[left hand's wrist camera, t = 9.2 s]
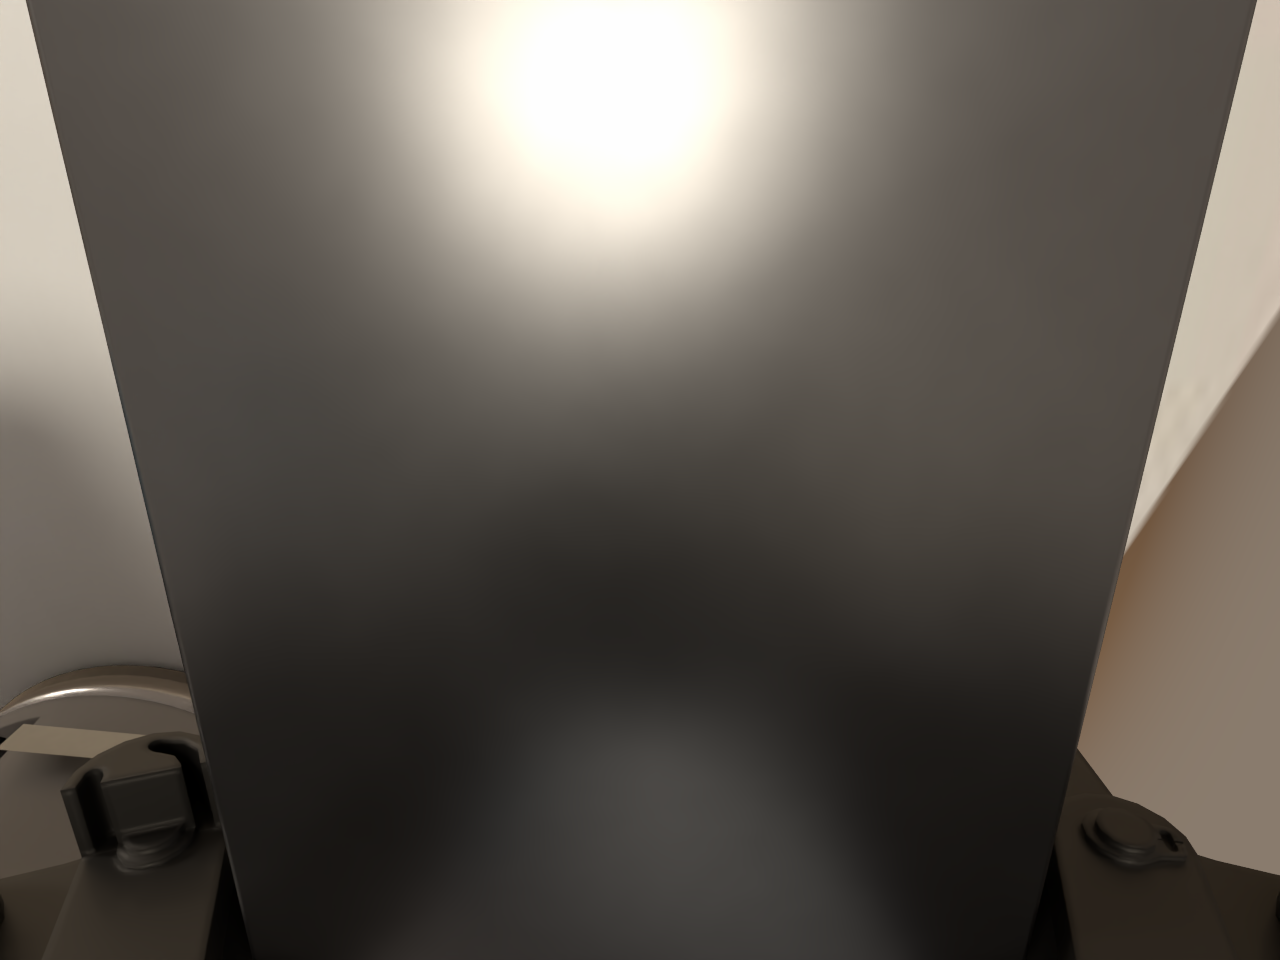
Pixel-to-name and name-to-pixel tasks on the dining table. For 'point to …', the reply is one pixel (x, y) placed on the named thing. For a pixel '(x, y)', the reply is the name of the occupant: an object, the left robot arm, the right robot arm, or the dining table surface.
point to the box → (640, 443)
